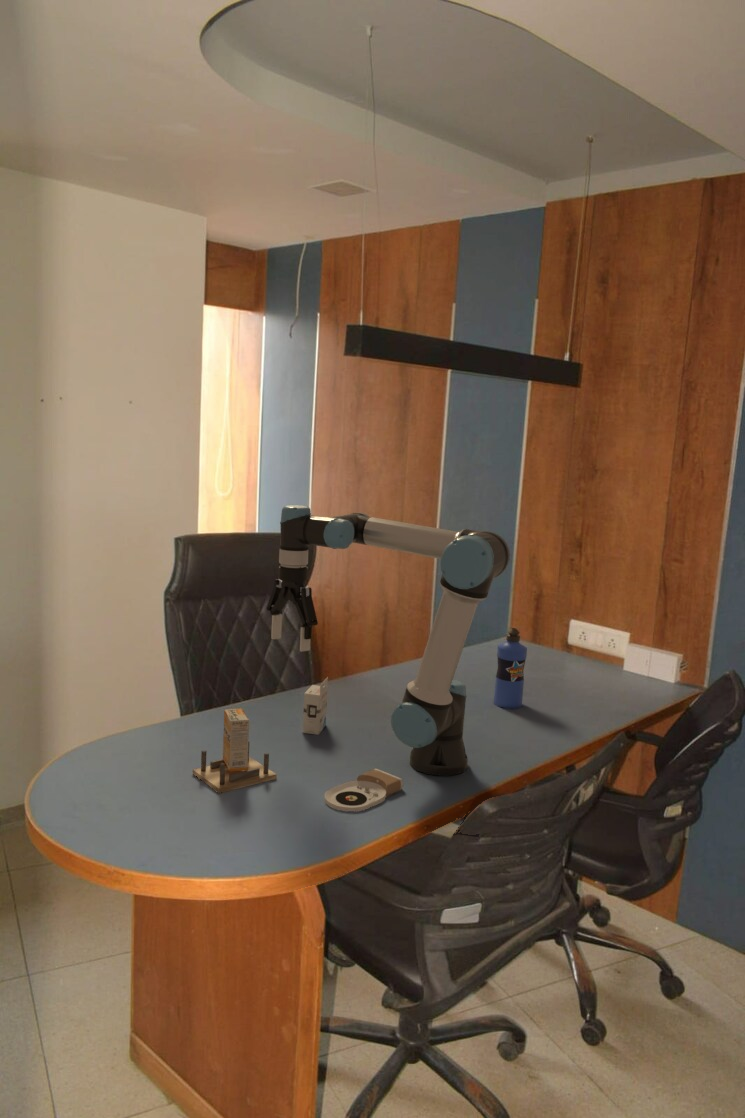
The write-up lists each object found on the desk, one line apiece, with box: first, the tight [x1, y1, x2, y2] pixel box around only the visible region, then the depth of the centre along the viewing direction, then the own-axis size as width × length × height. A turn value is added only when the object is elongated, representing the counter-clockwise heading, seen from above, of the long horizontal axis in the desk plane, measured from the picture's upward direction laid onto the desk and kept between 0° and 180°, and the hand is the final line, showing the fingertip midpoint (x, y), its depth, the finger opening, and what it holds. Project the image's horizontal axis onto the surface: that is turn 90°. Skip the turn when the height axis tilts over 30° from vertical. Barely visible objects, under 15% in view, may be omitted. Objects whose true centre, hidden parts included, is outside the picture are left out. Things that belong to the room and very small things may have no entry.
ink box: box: [302, 676, 329, 735], centre depth 253 cm, size 9×5×15 cm, turn 168°
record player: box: [323, 768, 404, 813], centre depth 212 cm, size 12×3×20 cm
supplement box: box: [222, 708, 250, 772], centre depth 217 cm, size 8×5×13 cm, turn 21°
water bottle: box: [493, 627, 528, 710], centre depth 284 cm, size 9×9×25 cm
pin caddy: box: [192, 741, 277, 794], centre depth 218 cm, size 13×16×6 cm
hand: (290, 644), depth 234 cm, fingers open, 13 cm apart
